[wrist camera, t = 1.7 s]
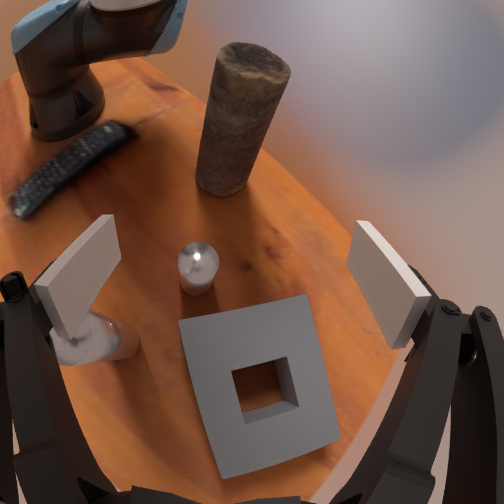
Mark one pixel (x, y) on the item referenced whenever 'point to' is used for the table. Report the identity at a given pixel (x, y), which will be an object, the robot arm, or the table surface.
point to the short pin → (197, 267)
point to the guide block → (289, 375)
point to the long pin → (96, 341)
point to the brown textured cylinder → (238, 115)
